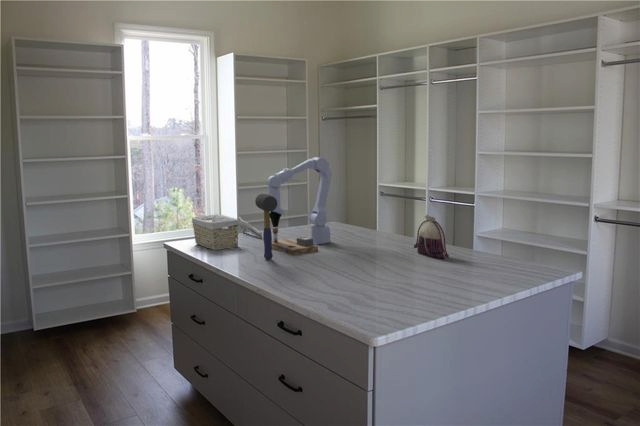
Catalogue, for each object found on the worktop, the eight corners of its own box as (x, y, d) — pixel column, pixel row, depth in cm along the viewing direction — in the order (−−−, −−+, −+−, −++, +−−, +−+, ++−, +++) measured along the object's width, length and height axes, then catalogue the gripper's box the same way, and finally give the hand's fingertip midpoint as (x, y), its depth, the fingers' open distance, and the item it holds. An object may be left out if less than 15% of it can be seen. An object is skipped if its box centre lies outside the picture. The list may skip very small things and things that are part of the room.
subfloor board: (290, 242, 289) (290, 238, 288) (319, 250, 268) (318, 245, 267) (264, 246, 280) (264, 242, 280) (292, 255, 259) (292, 250, 259)
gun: (240, 228, 327) (240, 216, 325) (262, 245, 303) (263, 232, 301) (237, 229, 326) (237, 216, 324) (259, 246, 302) (259, 232, 300)
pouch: (405, 252, 259) (405, 212, 256) (418, 250, 264) (418, 210, 261) (444, 262, 238) (445, 218, 236) (458, 259, 243) (458, 216, 240)
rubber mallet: (280, 261, 248) (278, 194, 243) (264, 263, 245) (262, 196, 240) (271, 256, 259) (269, 192, 255) (256, 257, 256) (253, 193, 252)
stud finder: (305, 242, 275) (305, 236, 275) (313, 244, 269) (313, 238, 269) (296, 244, 272) (296, 237, 272) (304, 246, 267) (304, 239, 266)
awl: (276, 241, 281) (276, 227, 280) (279, 242, 279) (279, 228, 278) (271, 242, 279) (271, 228, 278) (274, 242, 277) (274, 229, 276)
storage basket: (241, 246, 282) (240, 218, 280) (212, 251, 272) (210, 222, 270) (219, 240, 301) (218, 213, 299) (192, 244, 291) (190, 216, 289)
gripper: (260, 199, 279) (261, 225, 281) (275, 201, 268) (276, 229, 270) (272, 198, 283) (273, 224, 285) (287, 200, 272) (288, 227, 274)
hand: (275, 226), depth 278 cm, fingers closed
